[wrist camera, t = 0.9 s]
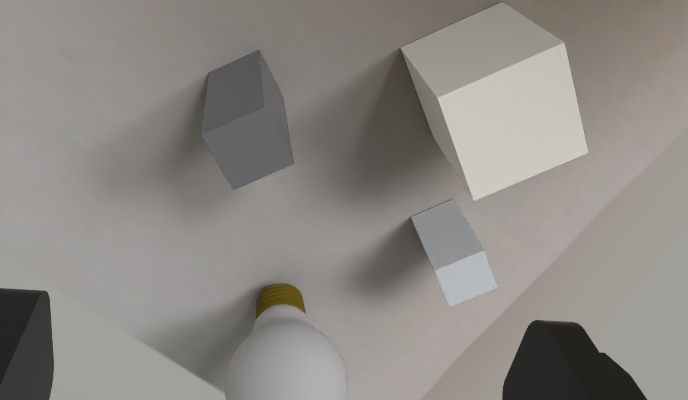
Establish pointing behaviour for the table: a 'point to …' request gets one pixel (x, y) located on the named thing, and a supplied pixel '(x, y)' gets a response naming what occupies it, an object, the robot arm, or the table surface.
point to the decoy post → (454, 252)
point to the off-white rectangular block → (497, 98)
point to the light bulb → (285, 354)
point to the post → (246, 121)
